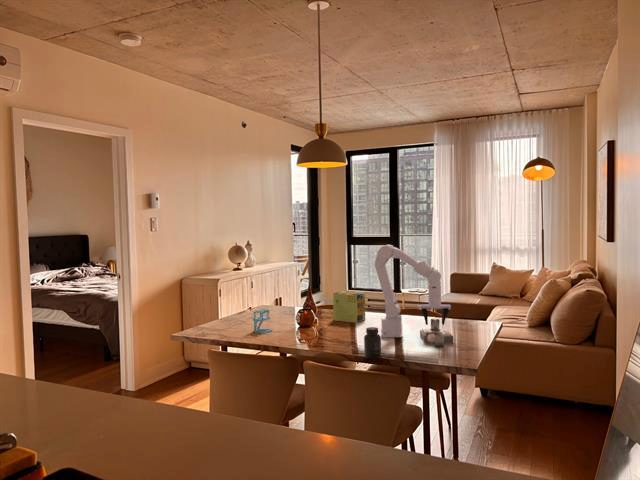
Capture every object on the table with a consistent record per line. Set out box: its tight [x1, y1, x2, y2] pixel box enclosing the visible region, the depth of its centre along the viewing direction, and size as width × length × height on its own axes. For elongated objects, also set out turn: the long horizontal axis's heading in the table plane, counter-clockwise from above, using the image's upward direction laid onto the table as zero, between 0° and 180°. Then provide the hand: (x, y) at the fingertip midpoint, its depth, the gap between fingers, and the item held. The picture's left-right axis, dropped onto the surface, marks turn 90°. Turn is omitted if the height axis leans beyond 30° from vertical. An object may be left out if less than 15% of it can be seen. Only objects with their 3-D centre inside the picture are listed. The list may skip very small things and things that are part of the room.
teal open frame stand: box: [252, 308, 273, 335], centre depth 250 cm, size 8×8×12 cm
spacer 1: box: [430, 318, 440, 331], centre depth 230 cm, size 4×4×5 cm
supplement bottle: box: [363, 326, 382, 360], centre depth 199 cm, size 7×7×12 cm
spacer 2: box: [434, 334, 445, 349], centre depth 214 cm, size 4×4×5 cm
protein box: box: [332, 290, 366, 324], centre depth 276 cm, size 10×15×16 cm
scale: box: [419, 328, 454, 345], centre depth 226 cm, size 13×15×5 cm
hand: (434, 324), depth 230 cm, fingers open, 7 cm apart
